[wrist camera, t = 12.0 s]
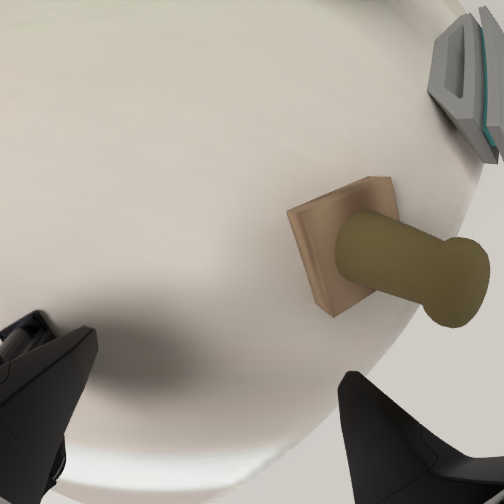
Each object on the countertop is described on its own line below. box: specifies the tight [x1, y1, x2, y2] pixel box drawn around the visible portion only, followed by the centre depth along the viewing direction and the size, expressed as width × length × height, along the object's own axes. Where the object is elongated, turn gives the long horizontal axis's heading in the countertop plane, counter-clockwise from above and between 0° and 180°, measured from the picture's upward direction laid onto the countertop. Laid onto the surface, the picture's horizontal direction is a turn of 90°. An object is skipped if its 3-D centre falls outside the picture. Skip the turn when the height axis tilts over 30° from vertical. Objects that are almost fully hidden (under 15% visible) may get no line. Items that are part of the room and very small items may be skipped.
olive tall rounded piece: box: [334, 210, 490, 328], centre depth 15 cm, size 6×6×11 cm
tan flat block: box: [286, 176, 400, 318], centre depth 22 cm, size 9×9×3 cm
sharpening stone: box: [427, 6, 504, 164], centre depth 19 cm, size 25×8×11 cm, turn 154°
